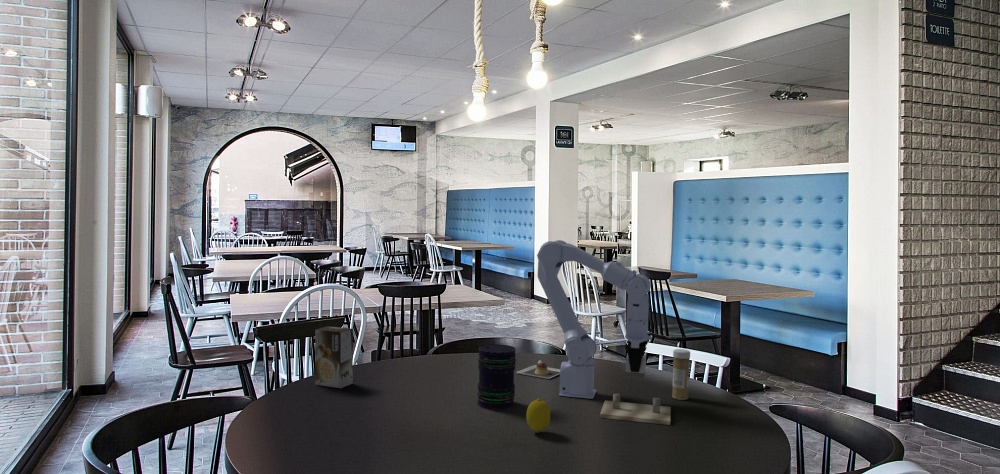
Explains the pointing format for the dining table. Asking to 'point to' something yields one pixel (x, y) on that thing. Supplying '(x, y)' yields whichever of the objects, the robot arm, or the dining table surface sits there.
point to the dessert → (539, 370)
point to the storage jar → (496, 377)
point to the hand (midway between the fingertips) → (635, 369)
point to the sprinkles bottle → (681, 374)
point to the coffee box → (333, 356)
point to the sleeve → (641, 371)
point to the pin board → (636, 411)
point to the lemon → (538, 415)
